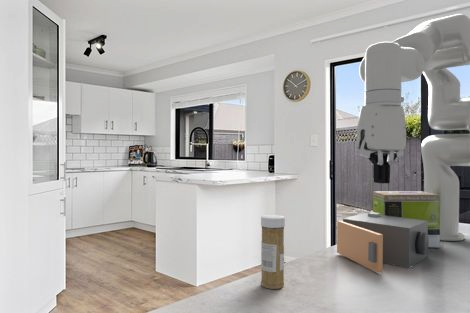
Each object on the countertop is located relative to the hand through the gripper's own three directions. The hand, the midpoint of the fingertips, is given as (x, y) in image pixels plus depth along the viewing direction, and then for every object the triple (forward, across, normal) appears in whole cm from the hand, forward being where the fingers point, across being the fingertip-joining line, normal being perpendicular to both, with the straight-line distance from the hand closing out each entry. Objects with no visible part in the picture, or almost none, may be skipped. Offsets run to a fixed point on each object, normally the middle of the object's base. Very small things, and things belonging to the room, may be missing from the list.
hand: (381, 182), depth 81 cm
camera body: (+19, -8, -8) cm, 22 cm away
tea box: (+19, -22, -17) cm, 34 cm away
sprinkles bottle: (+19, +27, +4) cm, 34 cm away
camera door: (+19, +3, -4) cm, 19 cm away
